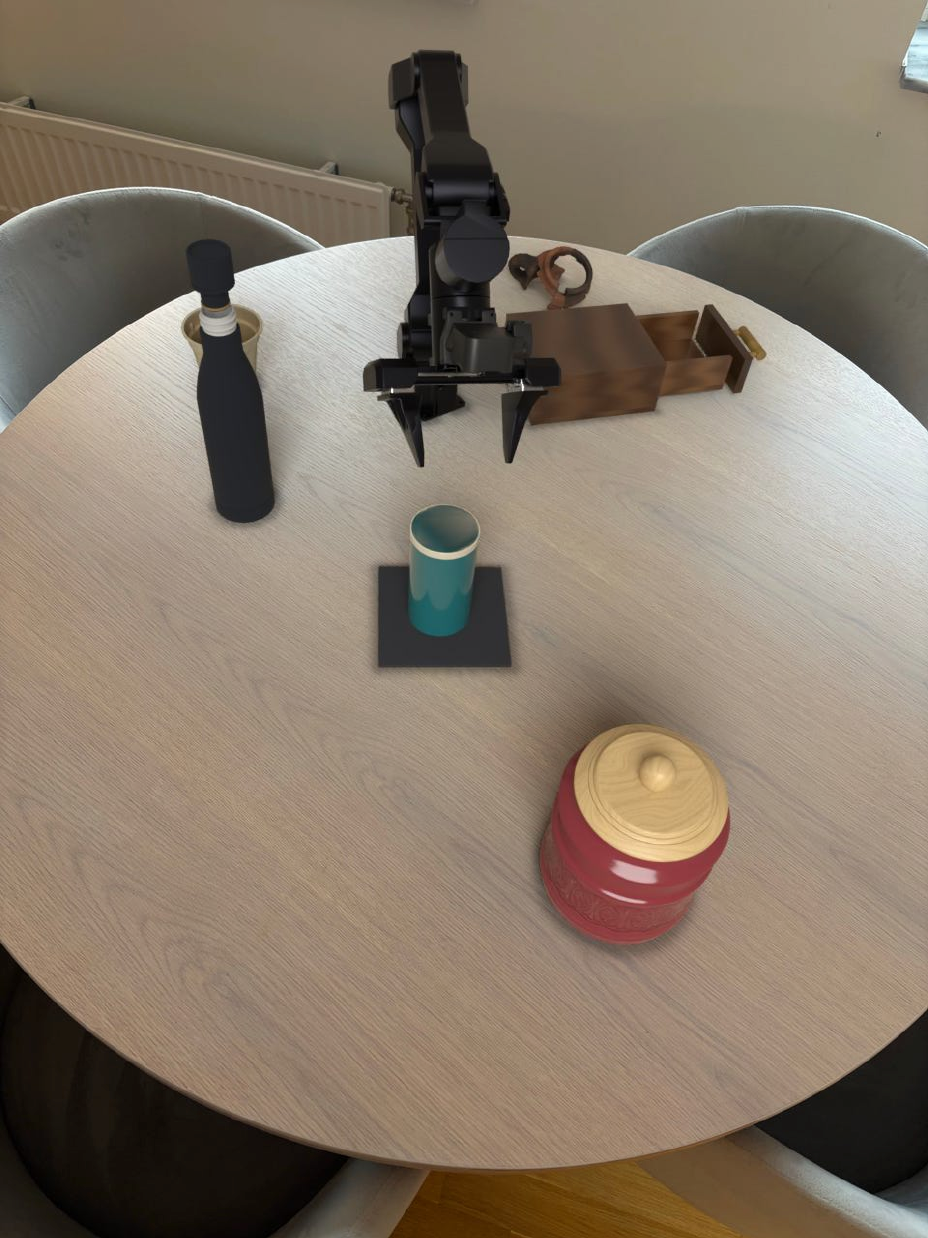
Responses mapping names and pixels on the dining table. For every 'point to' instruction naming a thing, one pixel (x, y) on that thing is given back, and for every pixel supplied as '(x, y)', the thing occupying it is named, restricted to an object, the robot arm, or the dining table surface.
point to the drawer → (687, 361)
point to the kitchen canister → (633, 833)
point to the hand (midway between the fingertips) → (465, 465)
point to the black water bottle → (229, 393)
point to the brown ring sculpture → (551, 274)
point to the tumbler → (441, 568)
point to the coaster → (466, 648)
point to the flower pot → (248, 326)
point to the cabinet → (595, 362)
